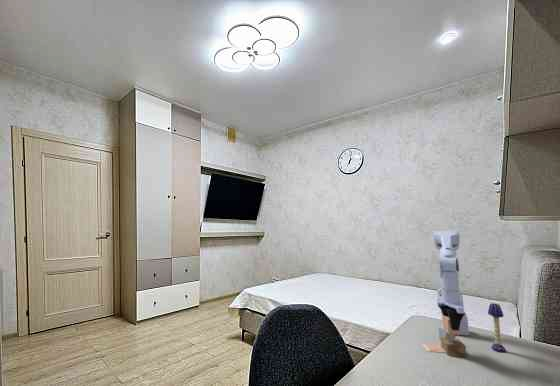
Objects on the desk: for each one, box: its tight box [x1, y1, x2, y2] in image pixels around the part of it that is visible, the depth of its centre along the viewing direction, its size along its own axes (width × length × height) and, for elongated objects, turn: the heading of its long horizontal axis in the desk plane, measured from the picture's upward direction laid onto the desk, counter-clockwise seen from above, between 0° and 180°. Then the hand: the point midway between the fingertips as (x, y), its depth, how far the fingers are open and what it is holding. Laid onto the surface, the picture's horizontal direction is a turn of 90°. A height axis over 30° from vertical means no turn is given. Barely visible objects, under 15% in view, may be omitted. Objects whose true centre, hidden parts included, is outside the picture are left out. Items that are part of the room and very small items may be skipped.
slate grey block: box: [438, 327, 457, 342], centre depth 107 cm, size 4×4×5 cm
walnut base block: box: [440, 337, 467, 358], centre depth 98 cm, size 6×6×4 cm
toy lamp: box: [487, 303, 507, 353], centre depth 101 cm, size 5×5×17 cm
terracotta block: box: [443, 316, 462, 336], centre depth 99 cm, size 4×4×5 cm
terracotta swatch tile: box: [422, 343, 446, 354], centre depth 101 cm, size 6×6×1 cm
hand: (452, 327), depth 99 cm, fingers closed on terracotta block, 4 cm apart
